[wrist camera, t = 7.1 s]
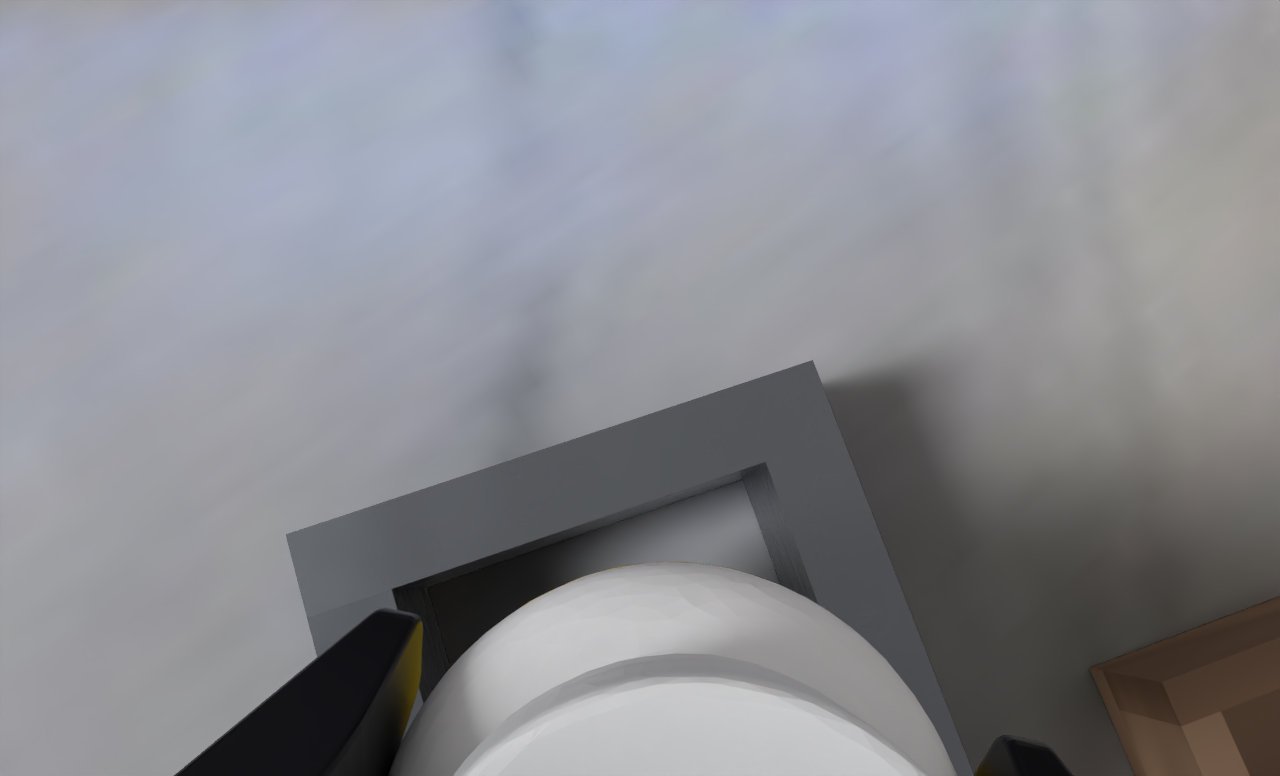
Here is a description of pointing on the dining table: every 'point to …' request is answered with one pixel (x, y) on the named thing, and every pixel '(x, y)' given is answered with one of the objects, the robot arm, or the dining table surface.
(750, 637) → the supplement bottle
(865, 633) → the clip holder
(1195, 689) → the walnut tray
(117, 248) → the dining table surface
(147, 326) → the dining table surface
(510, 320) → the dining table surface
